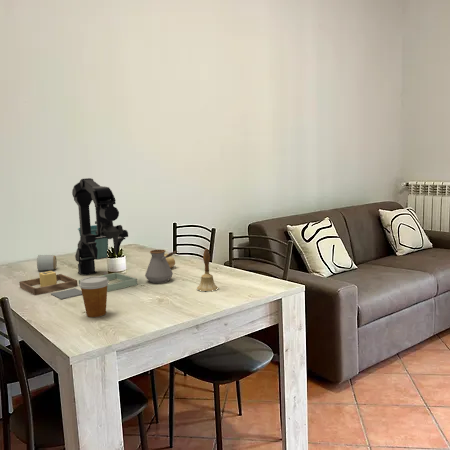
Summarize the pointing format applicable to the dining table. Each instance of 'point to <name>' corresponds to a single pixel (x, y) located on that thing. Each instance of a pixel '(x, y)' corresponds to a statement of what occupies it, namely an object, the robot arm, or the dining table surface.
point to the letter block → (47, 278)
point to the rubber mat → (67, 293)
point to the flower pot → (99, 243)
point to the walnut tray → (36, 291)
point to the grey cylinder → (46, 262)
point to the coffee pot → (159, 267)
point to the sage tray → (125, 282)
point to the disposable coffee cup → (94, 295)
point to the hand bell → (207, 275)
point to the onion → (170, 261)
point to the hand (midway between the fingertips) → (106, 256)
